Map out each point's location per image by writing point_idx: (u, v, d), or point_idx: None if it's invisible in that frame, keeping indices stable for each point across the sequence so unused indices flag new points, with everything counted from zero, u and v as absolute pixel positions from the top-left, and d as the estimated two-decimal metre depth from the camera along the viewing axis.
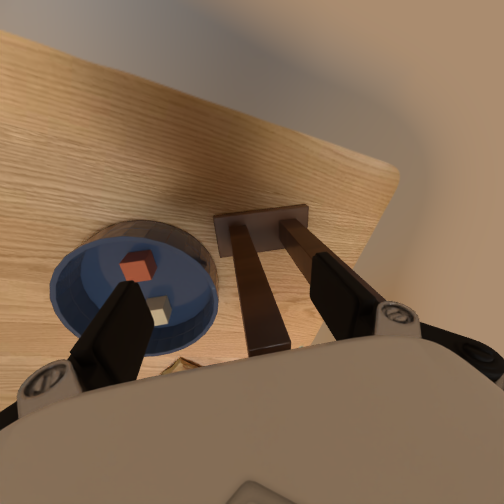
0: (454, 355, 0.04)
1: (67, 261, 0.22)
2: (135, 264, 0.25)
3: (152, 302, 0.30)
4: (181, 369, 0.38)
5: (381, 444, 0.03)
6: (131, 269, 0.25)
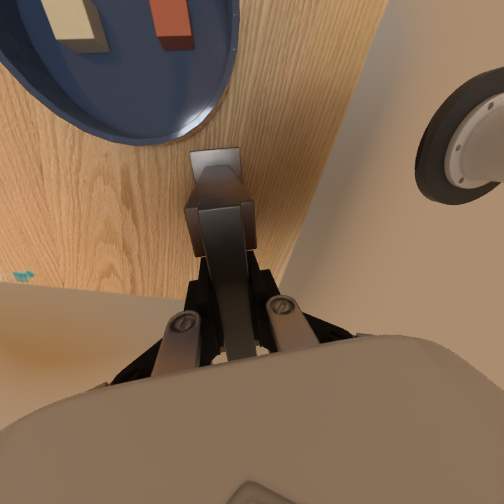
0: (454, 355, 0.04)
1: None
2: (184, 17, 0.17)
3: (95, 18, 0.18)
4: None
5: (381, 444, 0.03)
6: (174, 5, 0.17)
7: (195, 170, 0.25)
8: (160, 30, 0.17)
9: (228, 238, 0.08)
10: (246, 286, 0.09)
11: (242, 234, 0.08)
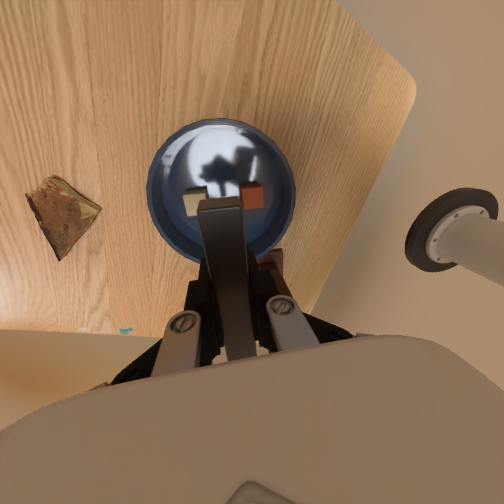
0: (454, 355, 0.04)
1: (280, 156, 0.25)
2: (261, 200, 0.29)
3: None
4: (84, 212, 0.28)
5: (381, 444, 0.03)
6: (256, 195, 0.29)
7: None
8: (246, 207, 0.29)
9: (228, 239, 0.08)
10: (246, 287, 0.09)
11: (242, 235, 0.08)
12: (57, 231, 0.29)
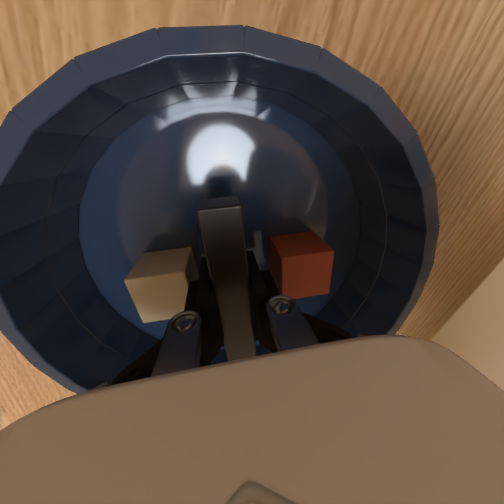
0: (454, 355, 0.04)
1: (422, 180, 0.08)
2: (325, 280, 0.12)
3: (193, 271, 0.12)
4: None
5: (381, 444, 0.03)
6: (315, 270, 0.11)
7: None
8: (289, 295, 0.12)
9: (228, 238, 0.08)
10: (246, 286, 0.09)
11: (242, 234, 0.08)
12: None
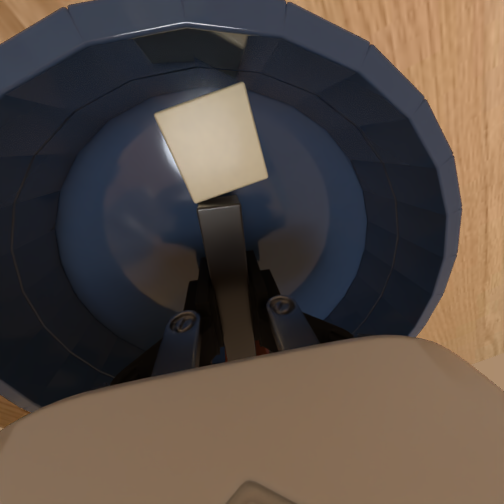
0: (454, 355, 0.04)
1: None
2: None
3: None
4: None
5: (381, 444, 0.03)
6: None
7: None
8: None
9: (228, 237, 0.08)
10: (245, 285, 0.09)
11: (241, 233, 0.08)
12: None
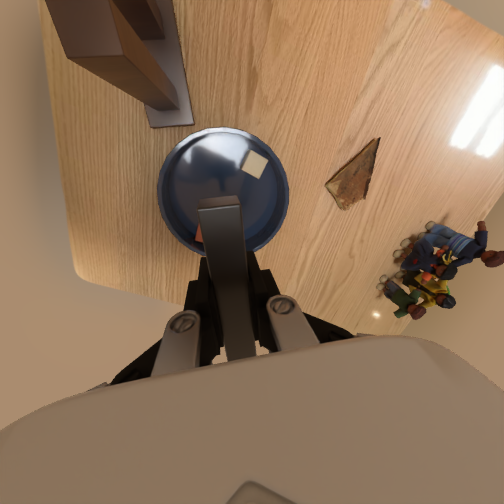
0: (454, 355, 0.04)
1: (183, 241, 0.32)
2: (199, 231, 0.34)
3: (243, 161, 0.31)
4: (336, 185, 0.36)
5: (381, 444, 0.03)
6: None
7: (187, 105, 0.28)
8: None
9: (228, 237, 0.08)
10: (246, 285, 0.09)
11: (241, 233, 0.08)
12: (363, 169, 0.35)
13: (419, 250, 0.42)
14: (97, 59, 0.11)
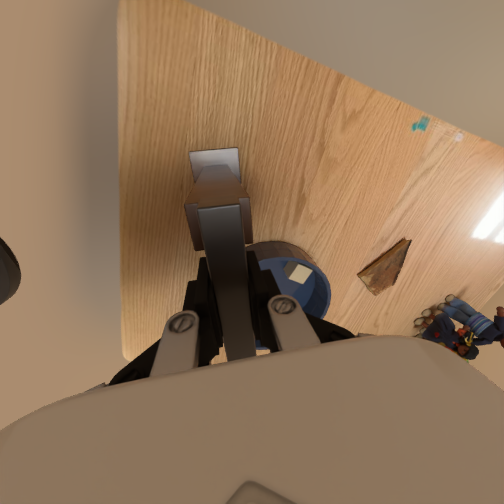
0: (454, 355, 0.04)
1: None
2: None
3: (288, 267, 0.34)
4: (369, 277, 0.38)
5: (381, 444, 0.03)
6: None
7: None
8: None
9: (228, 237, 0.08)
10: (245, 285, 0.09)
11: (241, 233, 0.08)
12: (394, 264, 0.38)
13: (441, 325, 0.45)
14: None
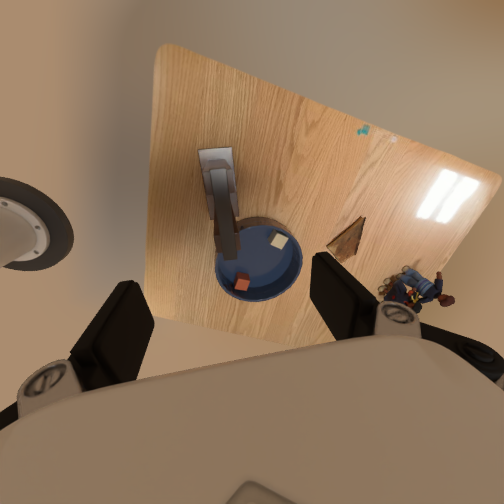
0: (454, 355, 0.04)
1: (228, 291, 0.46)
2: (238, 282, 0.47)
3: (271, 237, 0.45)
4: (335, 247, 0.50)
5: (381, 444, 0.03)
6: (240, 285, 0.48)
7: (236, 206, 0.41)
8: (248, 281, 0.48)
9: (221, 181, 0.20)
10: (229, 205, 0.21)
11: (226, 180, 0.20)
12: (353, 237, 0.49)
13: (396, 289, 0.56)
14: None
